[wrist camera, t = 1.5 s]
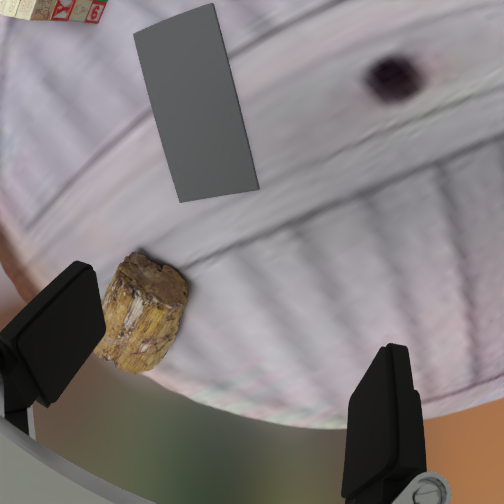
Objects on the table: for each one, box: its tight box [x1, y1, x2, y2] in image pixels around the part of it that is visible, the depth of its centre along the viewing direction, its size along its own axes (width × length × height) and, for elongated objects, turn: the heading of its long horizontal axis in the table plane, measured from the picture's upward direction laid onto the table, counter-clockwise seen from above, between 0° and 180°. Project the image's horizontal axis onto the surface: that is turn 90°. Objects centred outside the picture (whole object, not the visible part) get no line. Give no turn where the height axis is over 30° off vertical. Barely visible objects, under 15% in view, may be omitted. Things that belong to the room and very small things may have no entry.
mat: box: [133, 3, 259, 203], centre depth 33 cm, size 10×22×1 cm, turn 13°
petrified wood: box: [93, 252, 188, 374], centre depth 46 cm, size 19×13×10 cm
